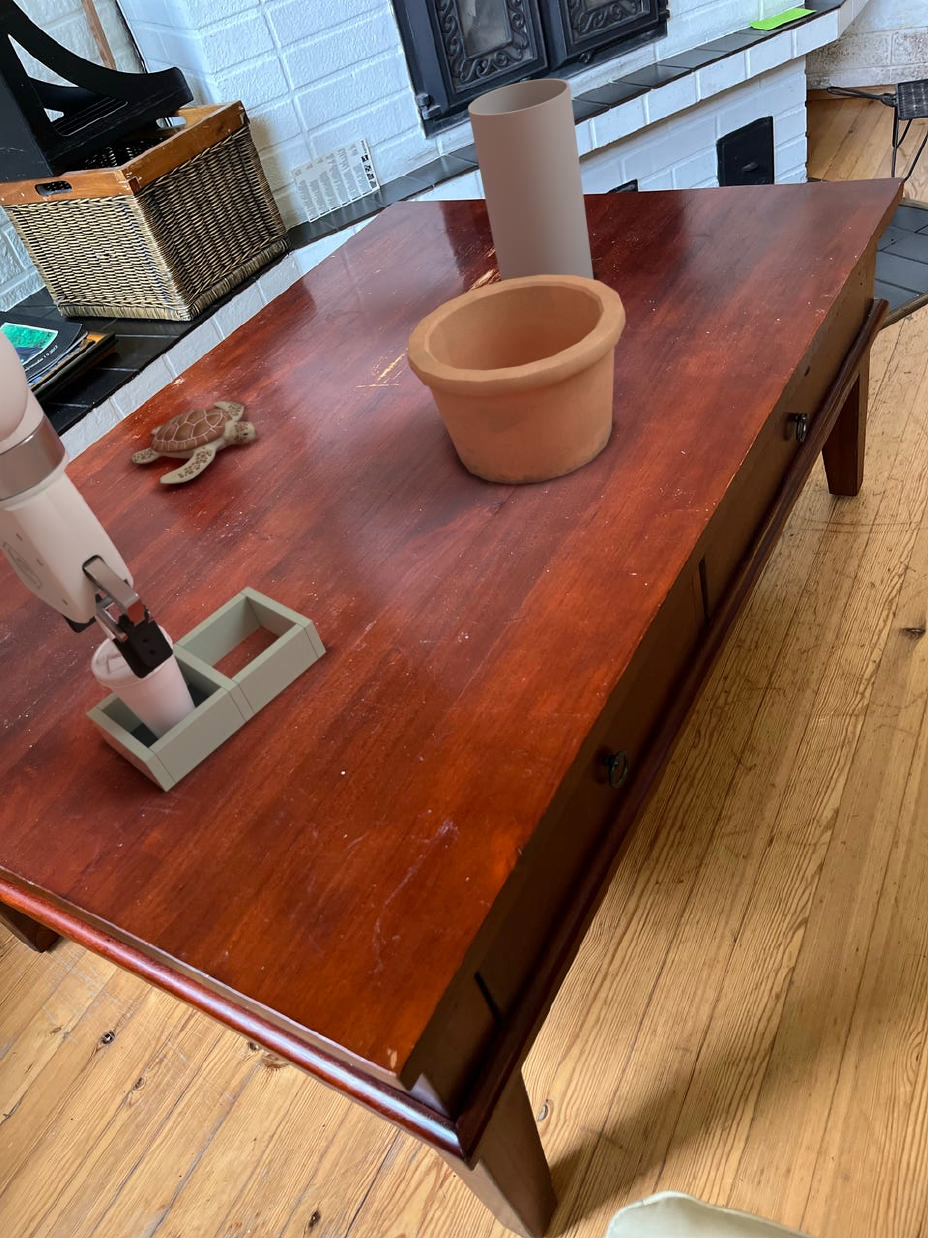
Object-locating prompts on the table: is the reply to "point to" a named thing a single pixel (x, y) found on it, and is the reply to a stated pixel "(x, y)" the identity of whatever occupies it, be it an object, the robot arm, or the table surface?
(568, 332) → the pottery
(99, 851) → the table surface
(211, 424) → the decorative turtle
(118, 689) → the smoothie
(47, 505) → the robot arm
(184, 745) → the divided open box
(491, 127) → the cylinder vase
